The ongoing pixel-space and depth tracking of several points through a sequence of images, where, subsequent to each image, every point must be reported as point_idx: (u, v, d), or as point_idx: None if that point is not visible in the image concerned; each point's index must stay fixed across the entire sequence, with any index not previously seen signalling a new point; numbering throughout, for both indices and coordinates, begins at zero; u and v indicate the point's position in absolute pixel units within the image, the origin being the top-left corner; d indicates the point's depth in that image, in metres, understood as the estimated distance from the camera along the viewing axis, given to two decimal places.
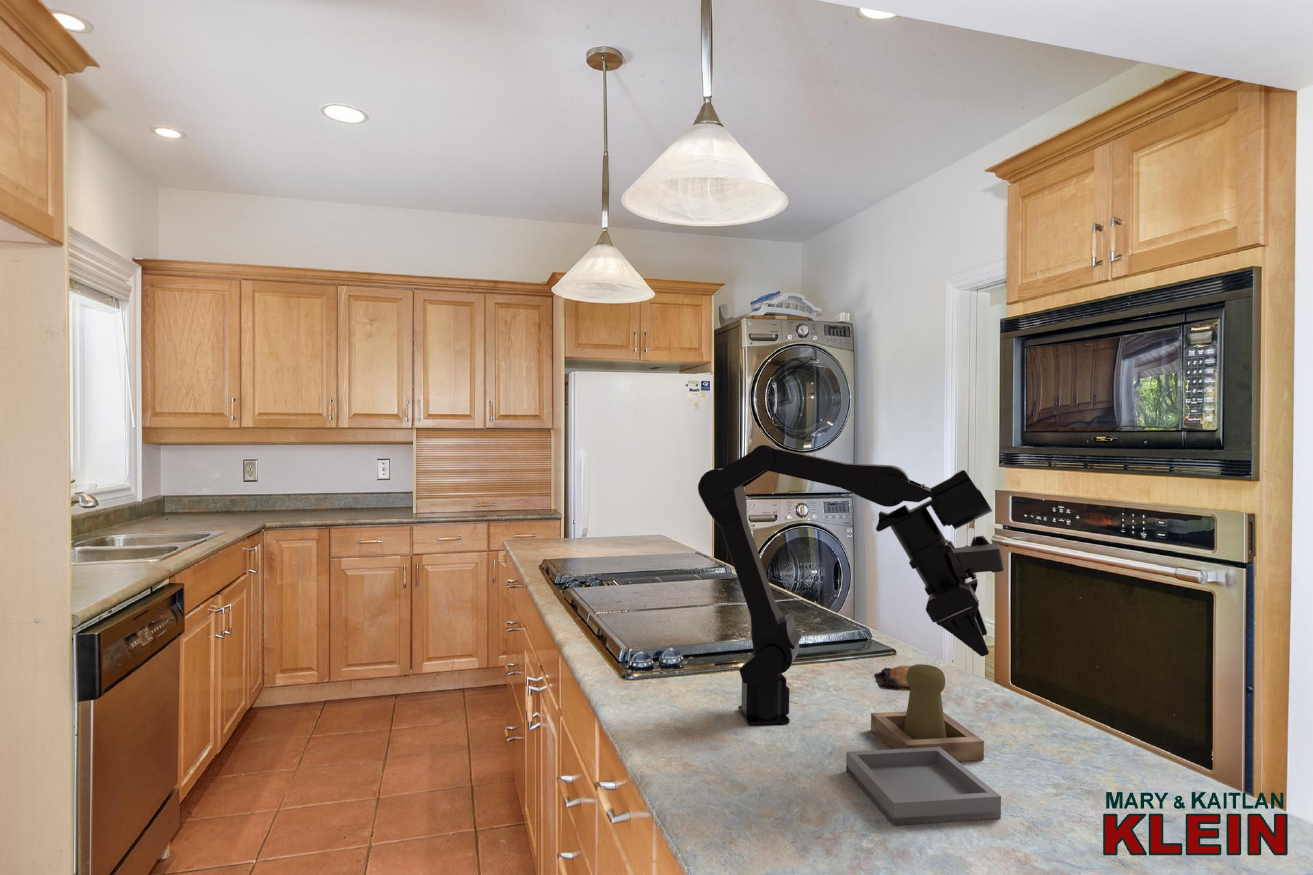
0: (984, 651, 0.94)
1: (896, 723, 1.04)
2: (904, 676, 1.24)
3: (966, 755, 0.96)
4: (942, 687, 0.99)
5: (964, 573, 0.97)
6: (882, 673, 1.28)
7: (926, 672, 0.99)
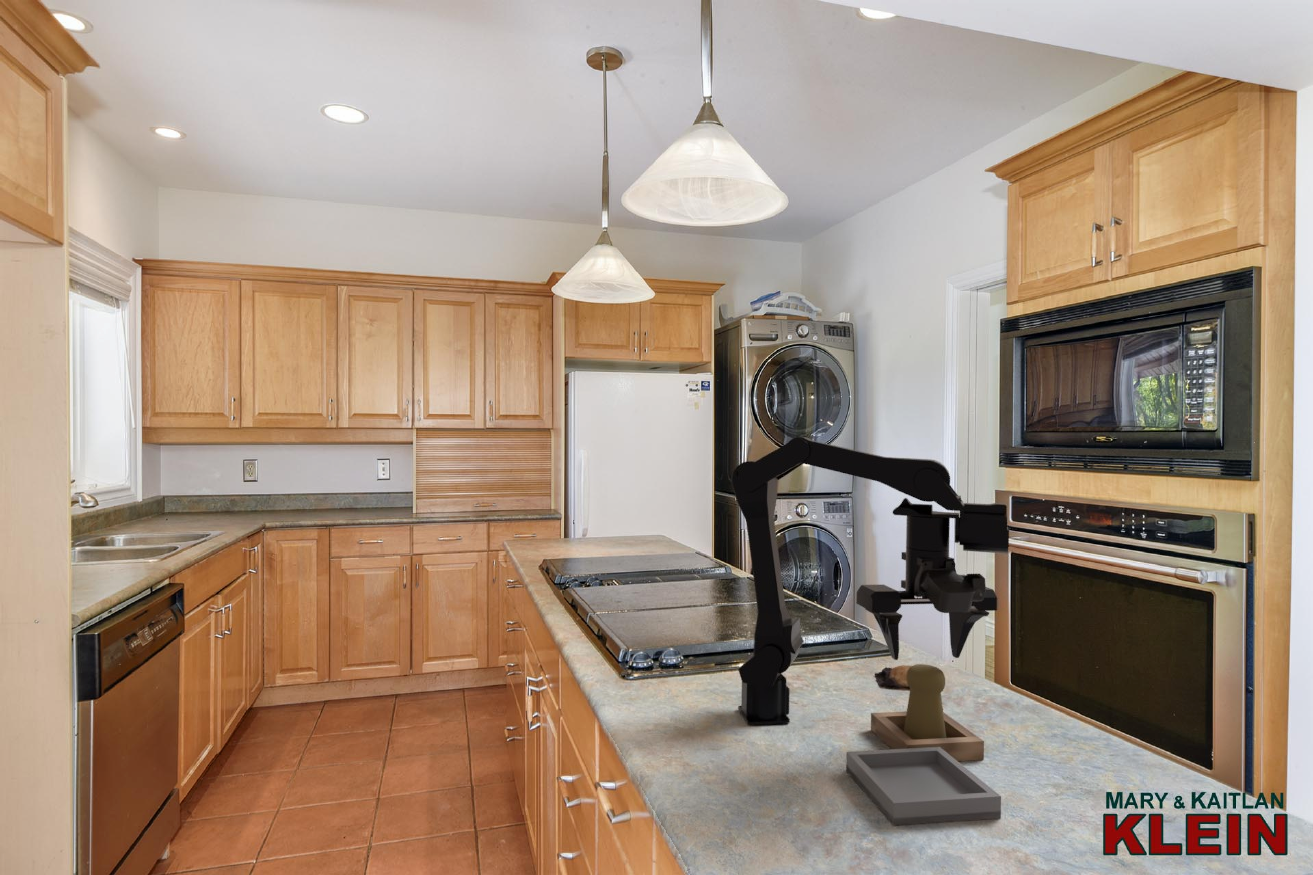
0: (893, 655, 1.00)
1: (896, 723, 1.04)
2: (904, 676, 1.24)
3: (966, 755, 0.96)
4: (942, 687, 0.99)
5: (918, 590, 0.97)
6: (882, 673, 1.28)
7: (926, 672, 0.99)
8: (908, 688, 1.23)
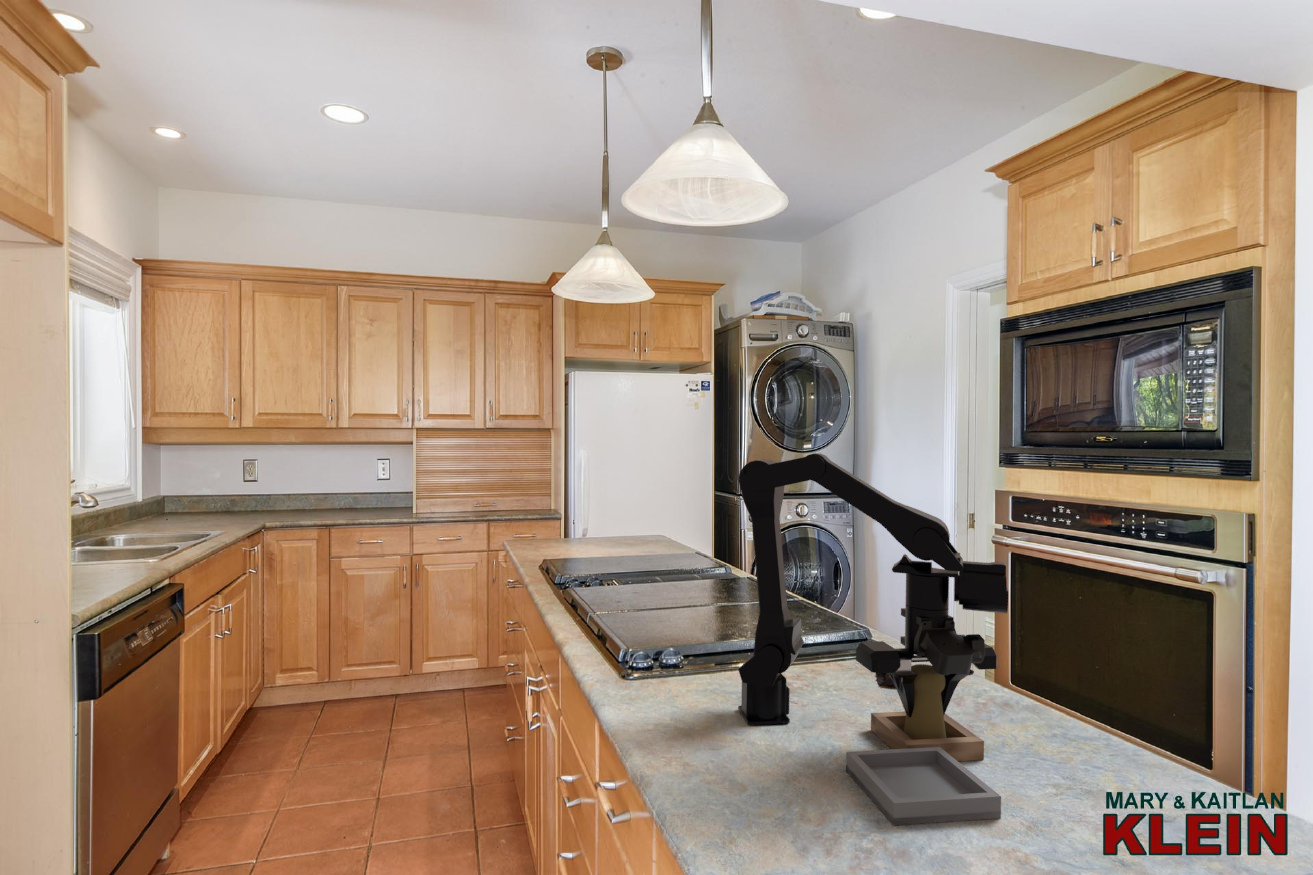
0: (907, 712, 1.00)
1: (896, 723, 1.04)
2: None
3: (966, 755, 0.96)
4: (942, 687, 0.99)
5: (917, 650, 0.97)
6: None
7: (926, 671, 0.99)
8: None
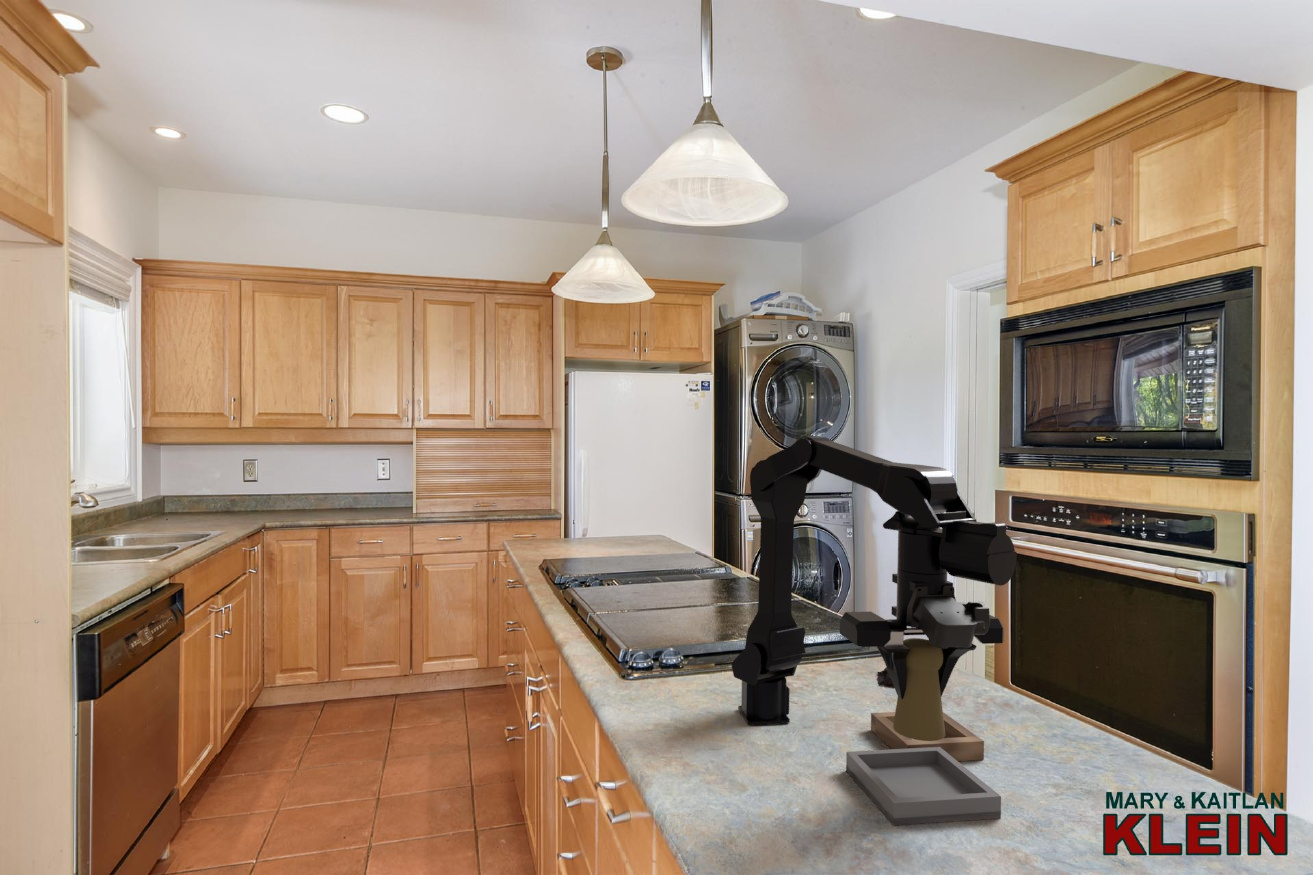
0: (899, 694, 0.86)
1: None
2: None
3: (966, 755, 0.96)
4: (939, 664, 0.85)
5: (910, 620, 0.83)
6: (884, 671, 1.29)
7: (921, 646, 0.85)
8: None
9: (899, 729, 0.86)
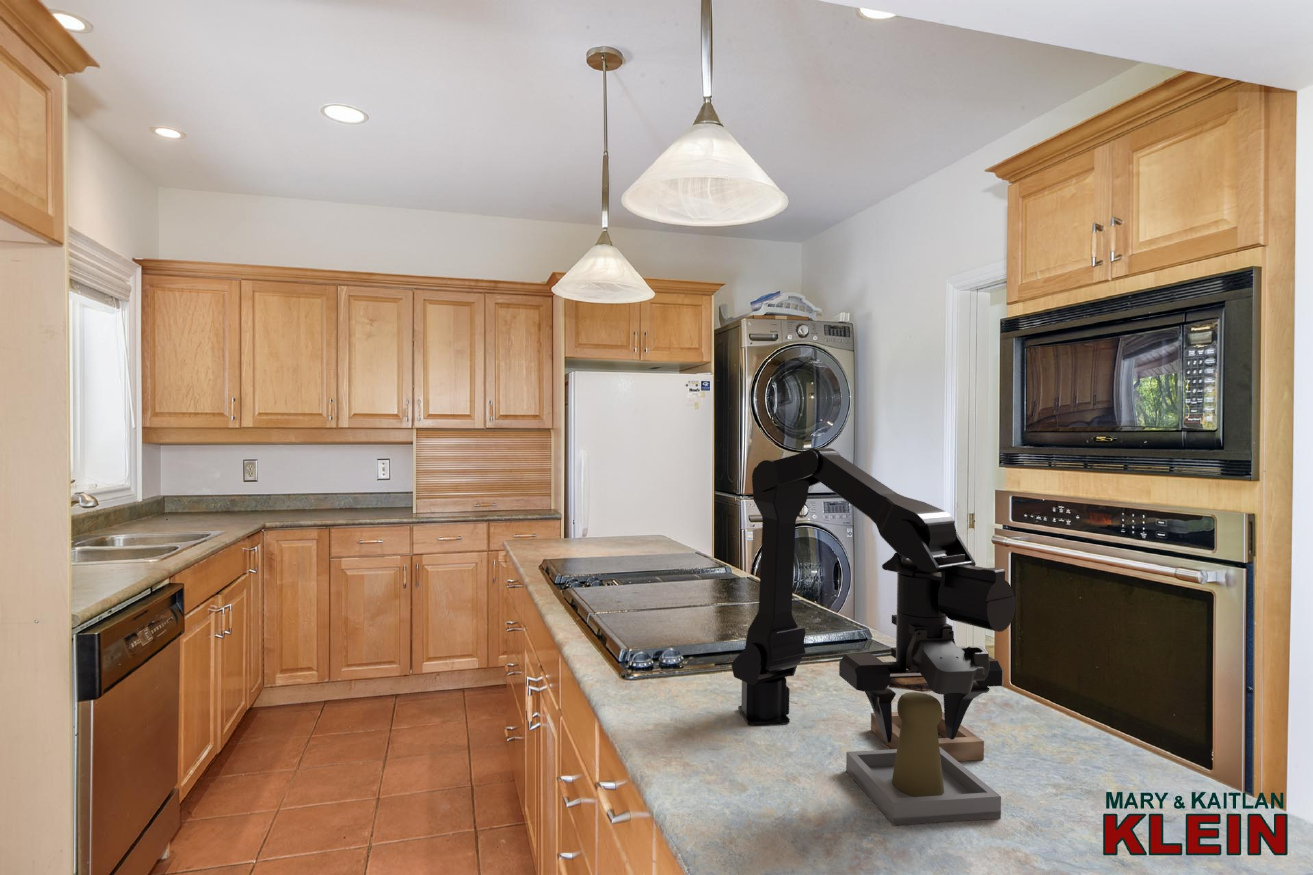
0: (885, 737, 0.86)
1: (896, 723, 1.04)
2: None
3: (966, 755, 0.96)
4: (939, 720, 0.85)
5: (910, 664, 0.83)
6: None
7: (921, 701, 0.85)
8: (906, 687, 1.23)
9: (898, 785, 0.86)
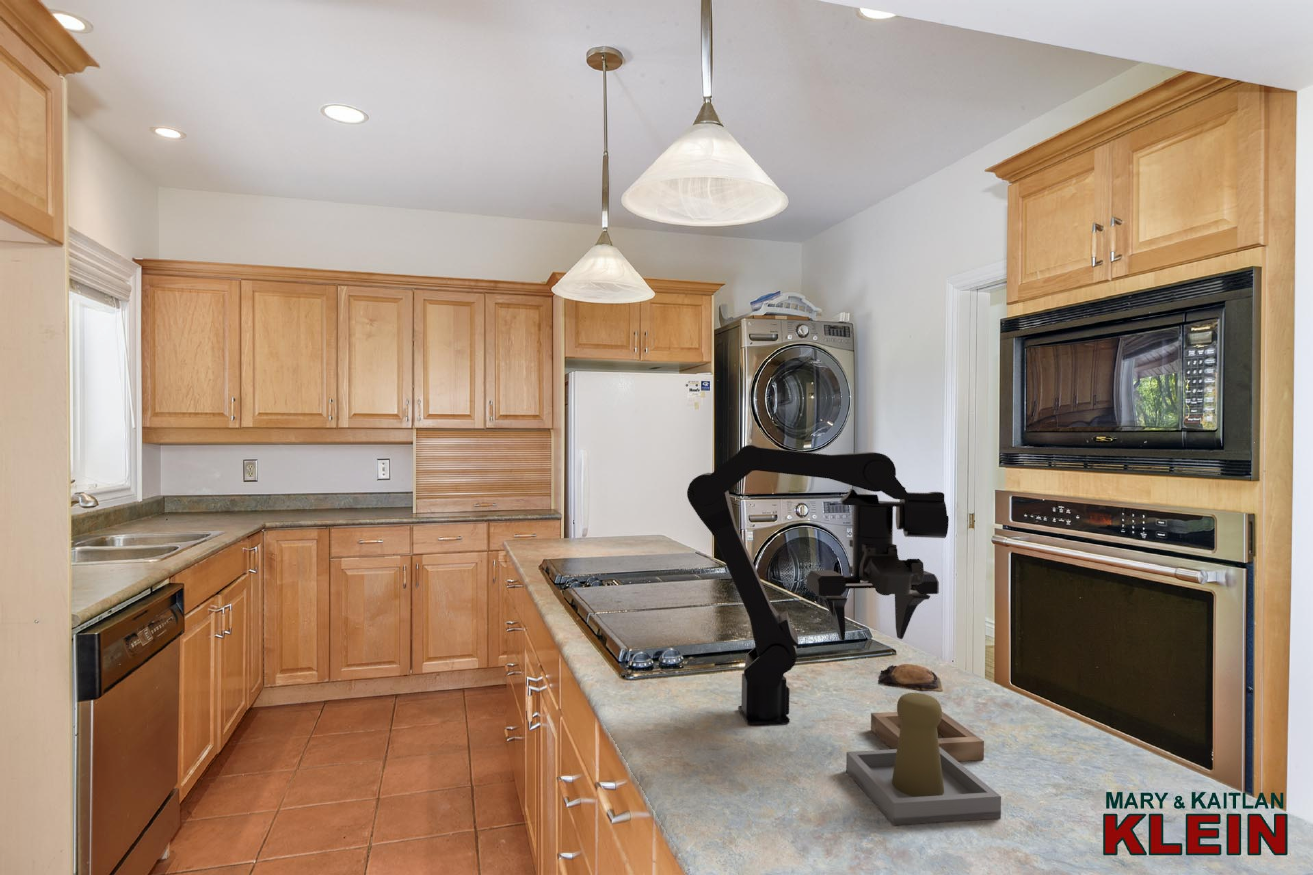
0: (840, 636, 1.06)
1: (896, 723, 1.04)
2: (903, 674, 1.25)
3: (966, 755, 0.96)
4: (938, 720, 0.85)
5: (862, 575, 1.04)
6: (887, 670, 1.30)
7: (920, 703, 0.85)
8: (906, 686, 1.24)
9: (898, 785, 0.86)
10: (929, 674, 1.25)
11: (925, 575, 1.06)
